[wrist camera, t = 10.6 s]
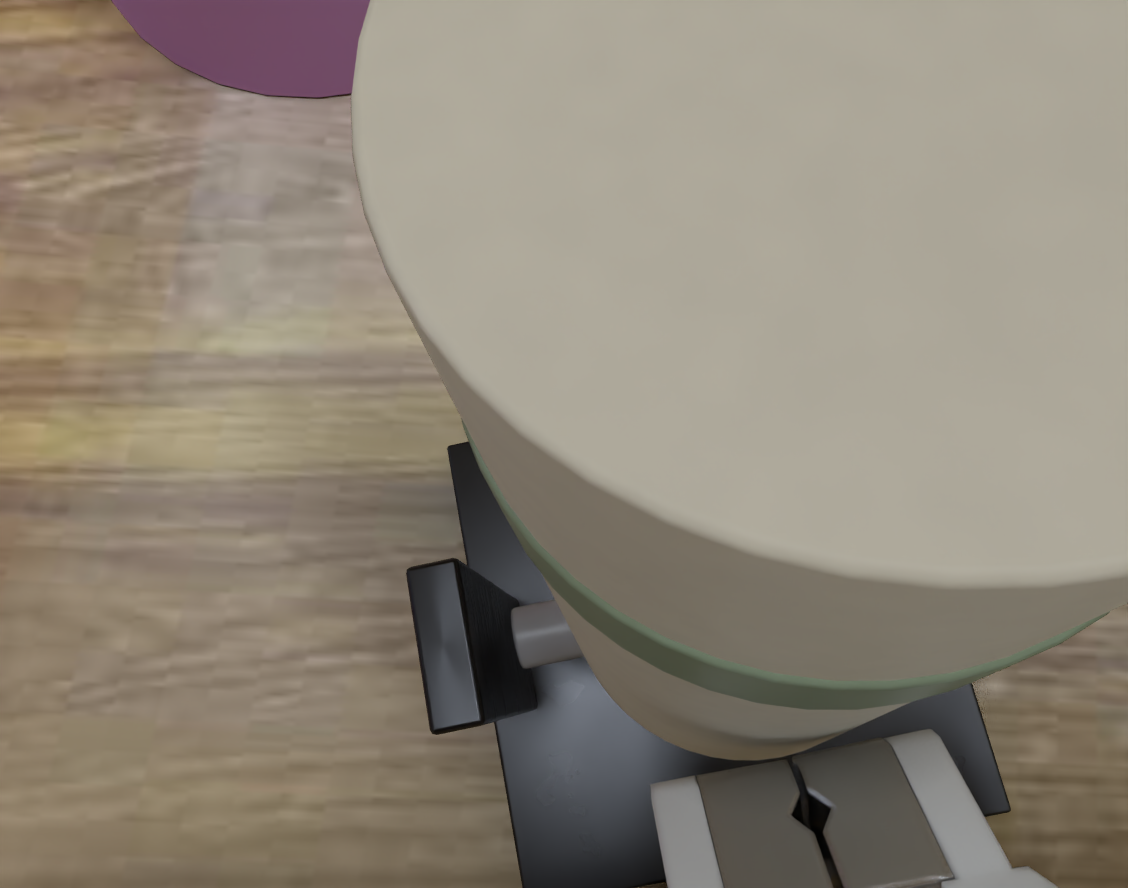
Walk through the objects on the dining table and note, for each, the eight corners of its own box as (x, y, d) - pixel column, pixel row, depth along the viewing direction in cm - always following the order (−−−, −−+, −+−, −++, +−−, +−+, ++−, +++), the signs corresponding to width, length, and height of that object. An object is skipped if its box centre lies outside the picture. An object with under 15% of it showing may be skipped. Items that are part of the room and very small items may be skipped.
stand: (1049, 988, 18) (1357, 1217, 10) (563, 1084, 18) (510, 1378, 11) (859, 368, 22) (983, 196, 14) (454, 455, 22) (355, 333, 14)
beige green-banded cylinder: (2256, 358, 3) (1381, -461, 5) (138, 797, 3) (137, -168, 5) (1001, 717, 14) (890, 414, 16) (549, 810, 14) (496, 498, 16)
